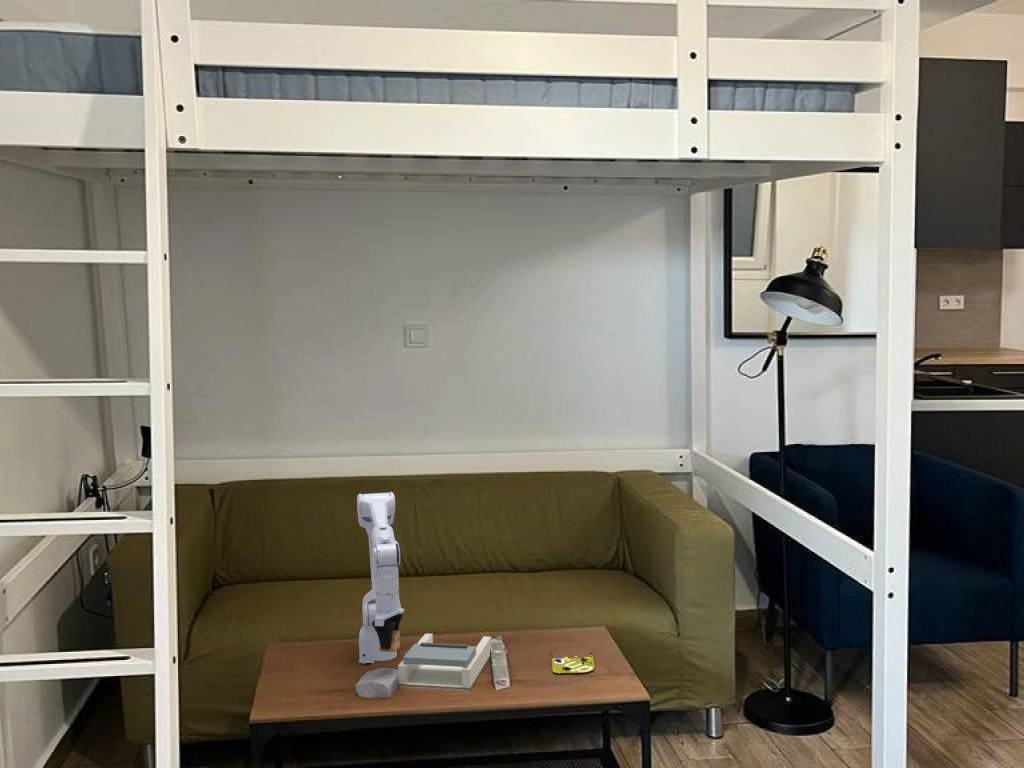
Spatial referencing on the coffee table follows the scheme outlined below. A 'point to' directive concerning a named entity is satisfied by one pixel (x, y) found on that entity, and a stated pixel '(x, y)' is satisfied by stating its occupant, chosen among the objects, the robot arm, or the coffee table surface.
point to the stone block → (378, 683)
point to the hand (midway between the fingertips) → (388, 645)
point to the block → (393, 642)
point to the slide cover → (440, 654)
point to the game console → (572, 666)
